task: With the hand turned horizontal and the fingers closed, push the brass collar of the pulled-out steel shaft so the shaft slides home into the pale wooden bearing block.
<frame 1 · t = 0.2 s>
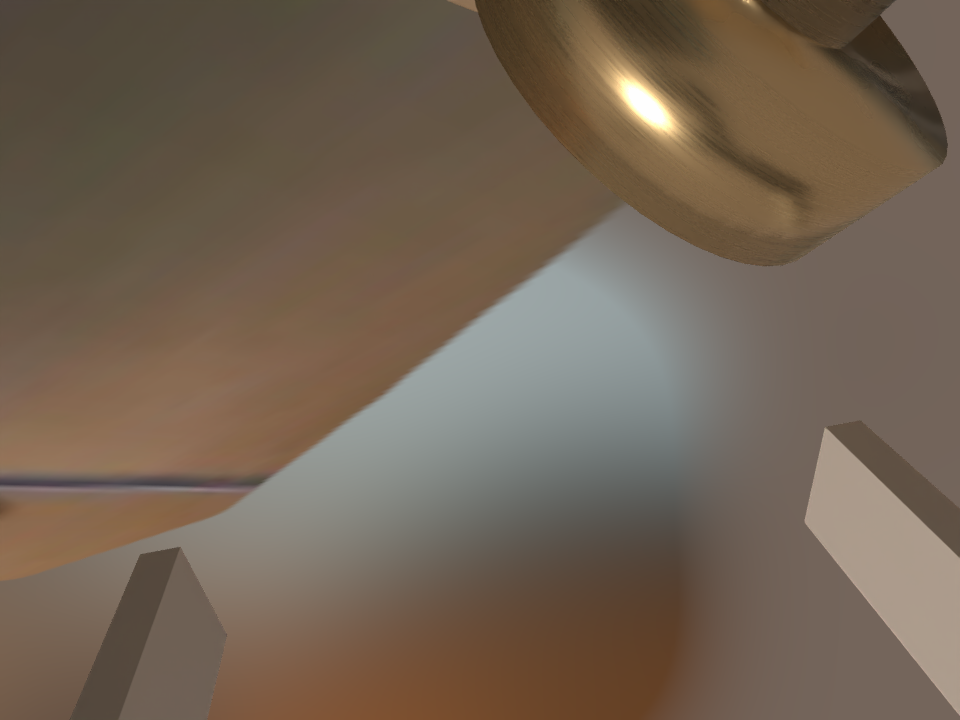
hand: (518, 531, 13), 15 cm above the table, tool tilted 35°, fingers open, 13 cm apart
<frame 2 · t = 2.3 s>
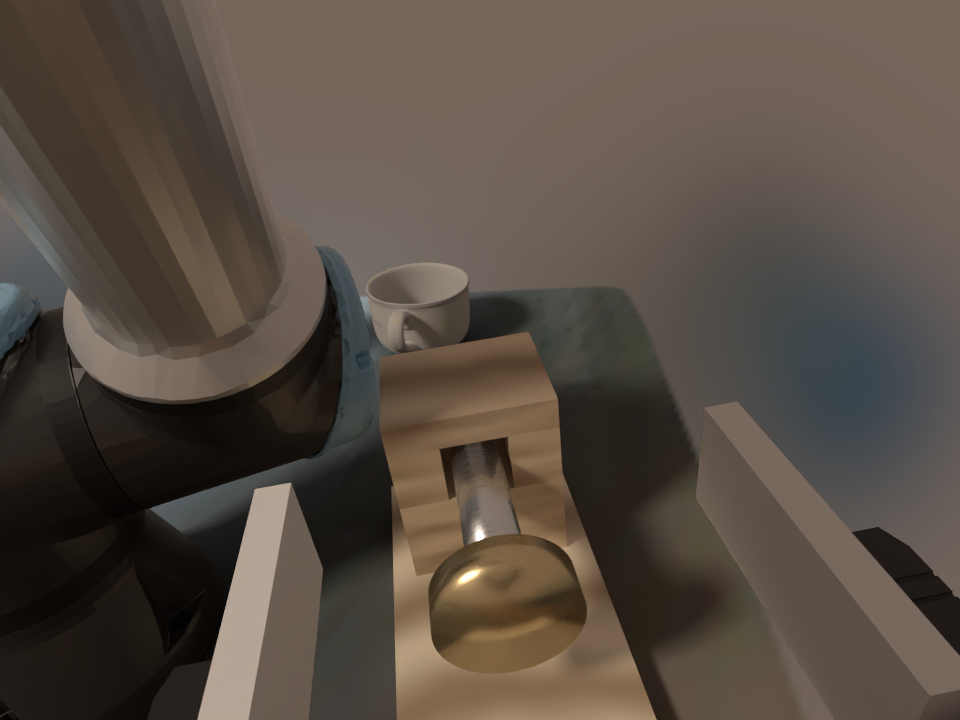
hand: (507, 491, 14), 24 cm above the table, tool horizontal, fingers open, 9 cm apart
bearing stand: (505, 629, 38), on the table
teacup: (422, 354, 68), on the table
shaft: (489, 525, 33), point 9 cm above the table, slide at 8.0 cm
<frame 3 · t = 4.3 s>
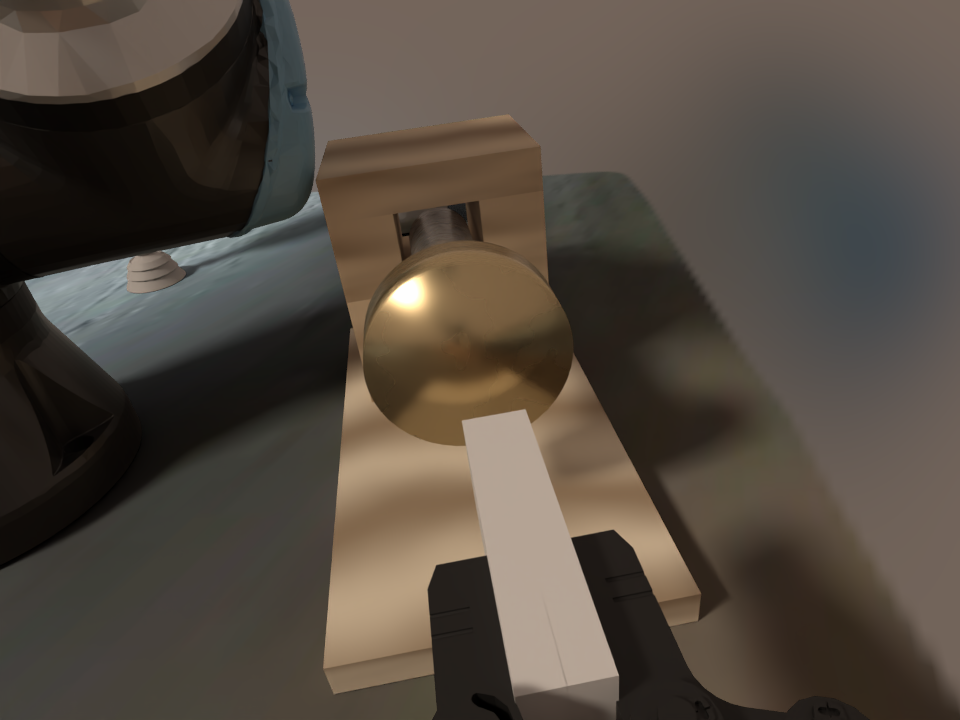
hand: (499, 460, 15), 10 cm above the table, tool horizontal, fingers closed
bearing stand: (476, 455, 31), on the table
teacup: (398, 231, 61), on the table
chalice: (157, 282, 56), on the table
shaft: (451, 287, 26), point 10 cm above the table, slide at 8.0 cm
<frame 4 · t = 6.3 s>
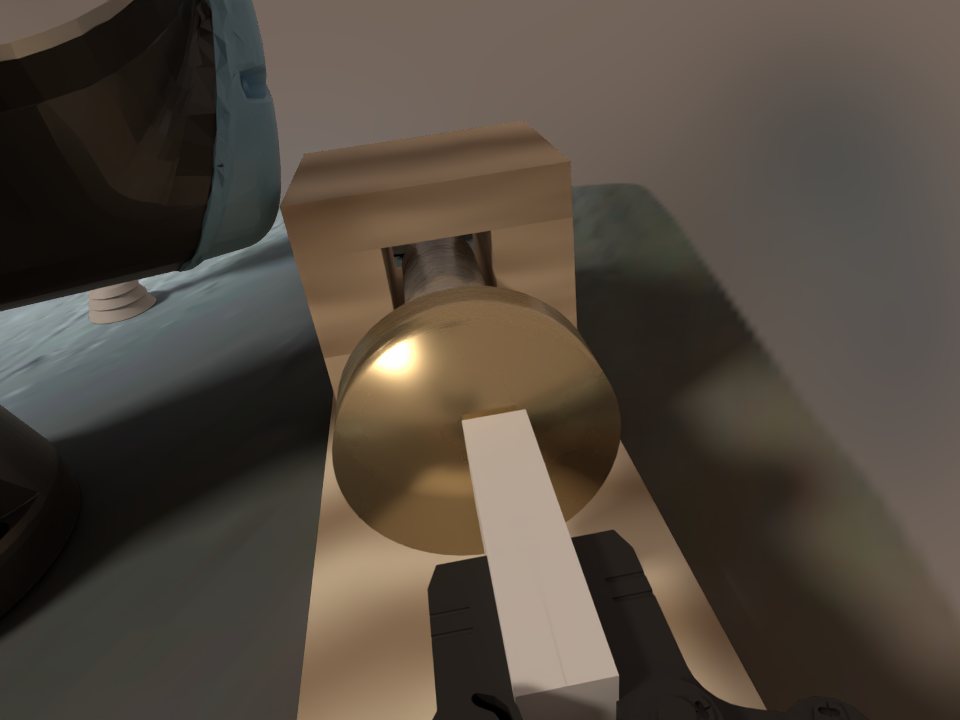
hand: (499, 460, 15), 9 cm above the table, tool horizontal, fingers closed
bearing stand: (488, 546, 25), on the table
chalice: (124, 310, 50), on the table
shaft: (454, 335, 20), point 10 cm above the table, slide at 7.1 cm, touching gripper
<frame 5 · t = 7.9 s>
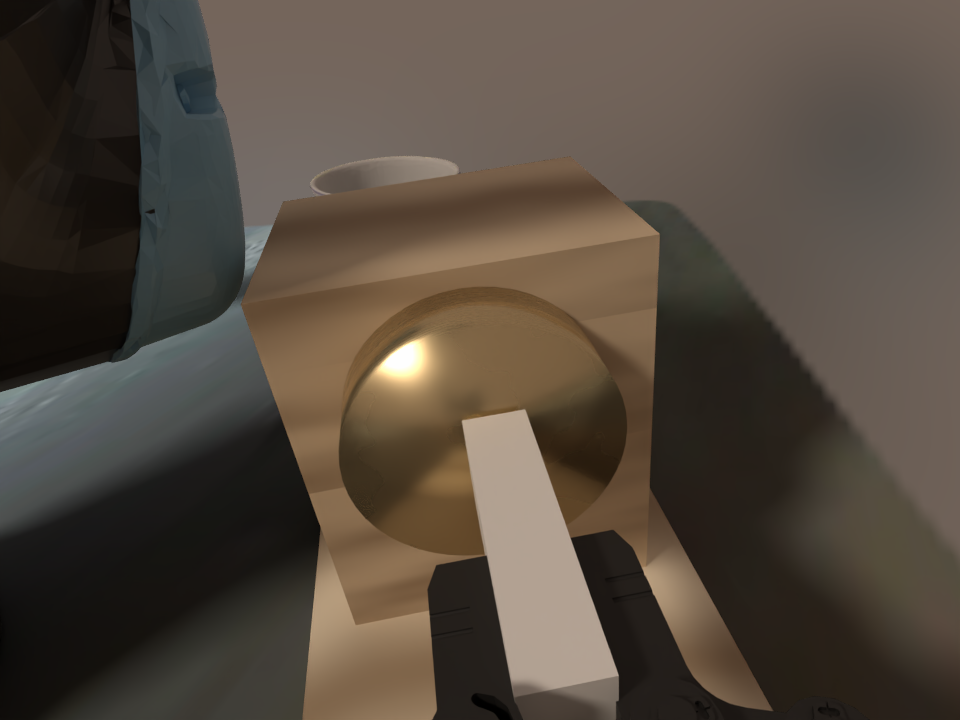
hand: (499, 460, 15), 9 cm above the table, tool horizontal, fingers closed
teacup: (395, 282, 48), on the table
shaft: (458, 335, 20), point 10 cm above the table, slide at -0.4 cm, touching gripper
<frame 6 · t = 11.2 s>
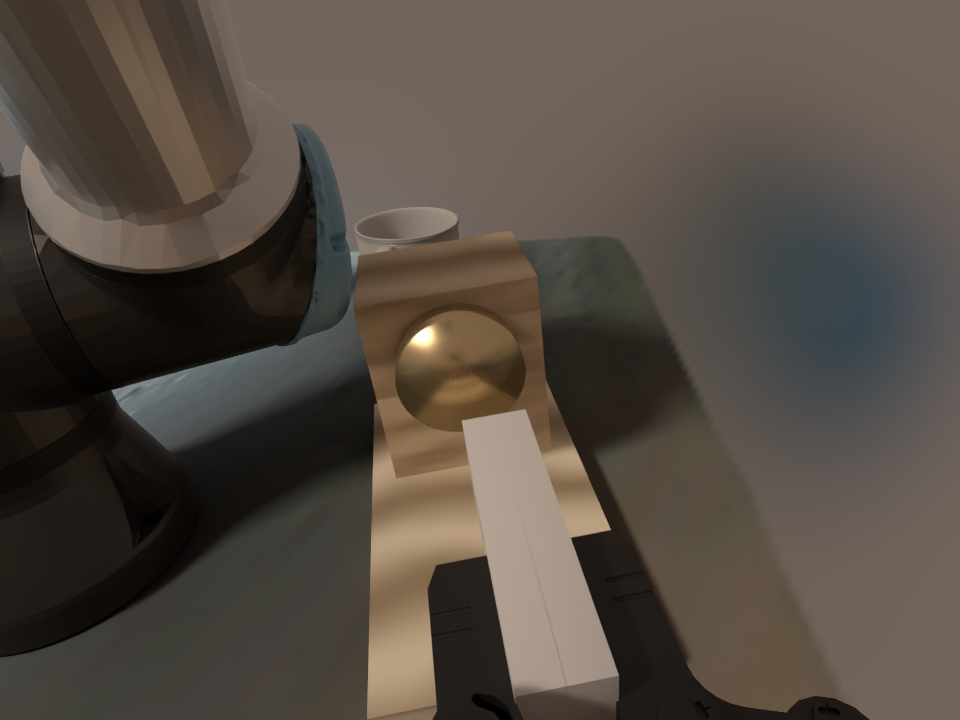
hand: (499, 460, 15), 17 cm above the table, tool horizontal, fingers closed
bearing stand: (486, 526, 37), on the table
teacup: (412, 297, 67), on the table
shaft: (450, 328, 38), point 10 cm above the table, slide at 0.0 cm
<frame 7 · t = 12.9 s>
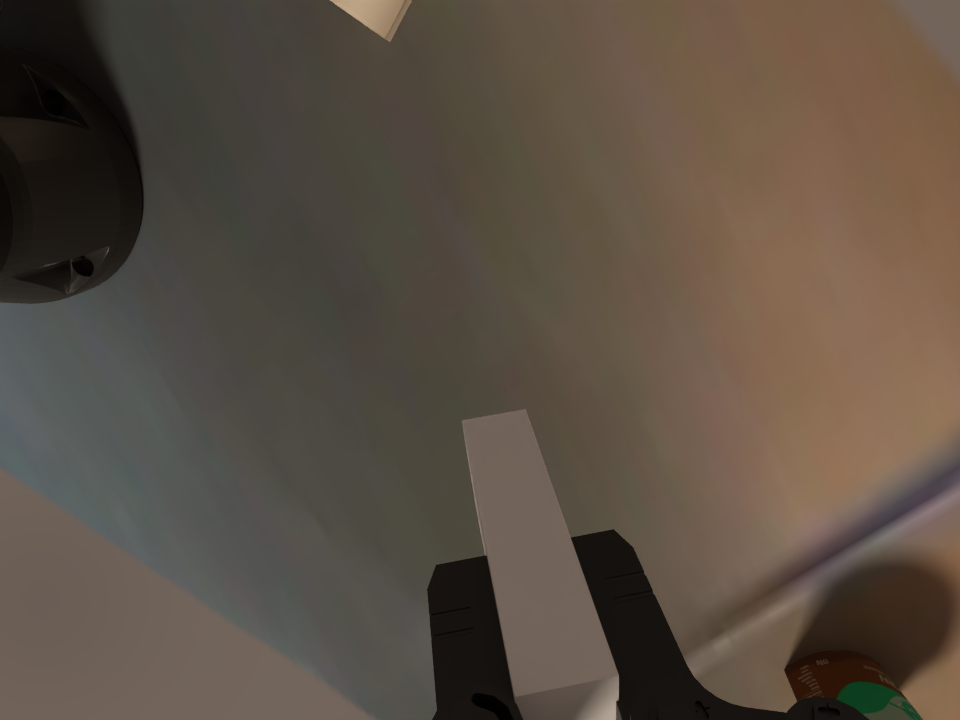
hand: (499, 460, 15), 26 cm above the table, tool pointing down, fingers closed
food container: (853, 671, 50), on the table
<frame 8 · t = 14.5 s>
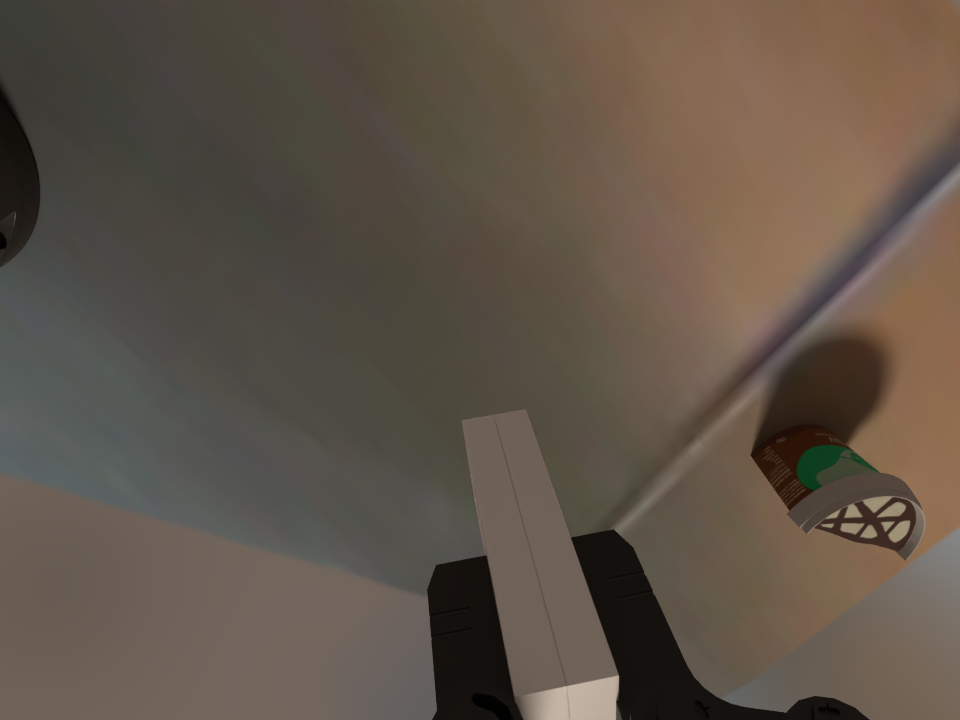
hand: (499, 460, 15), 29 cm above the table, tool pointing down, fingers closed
food container: (807, 441, 58), on the table
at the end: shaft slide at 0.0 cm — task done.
